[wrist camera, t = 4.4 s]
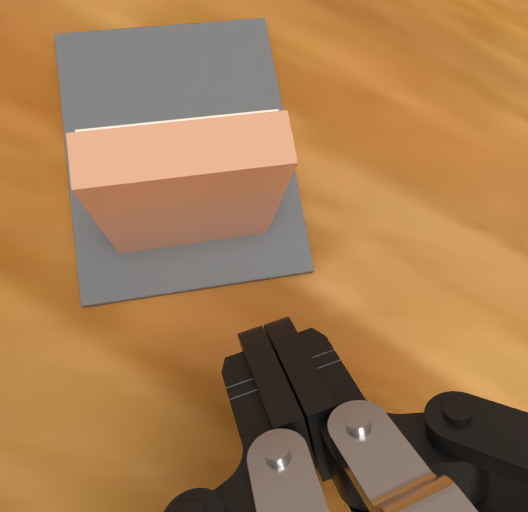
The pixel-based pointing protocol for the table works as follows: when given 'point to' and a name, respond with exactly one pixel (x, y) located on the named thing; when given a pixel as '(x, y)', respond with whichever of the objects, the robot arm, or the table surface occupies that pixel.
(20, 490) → the table surface
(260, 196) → the tile
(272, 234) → the mat
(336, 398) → the robot arm
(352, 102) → the table surface
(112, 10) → the table surface
